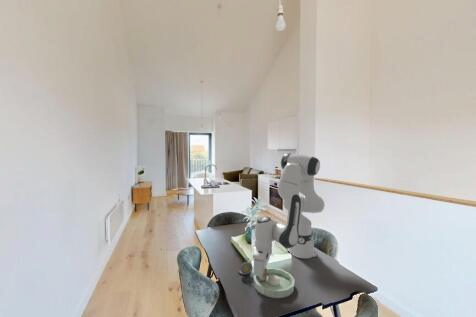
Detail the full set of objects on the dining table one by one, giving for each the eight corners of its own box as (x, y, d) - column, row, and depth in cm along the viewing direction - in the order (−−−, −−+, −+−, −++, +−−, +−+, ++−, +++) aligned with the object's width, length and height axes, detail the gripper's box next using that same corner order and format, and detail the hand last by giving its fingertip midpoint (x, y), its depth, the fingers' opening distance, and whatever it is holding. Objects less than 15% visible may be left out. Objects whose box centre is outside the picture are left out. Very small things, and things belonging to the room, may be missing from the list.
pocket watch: (243, 267, 132) (243, 250, 131) (255, 273, 127) (255, 255, 126) (234, 273, 126) (234, 255, 125) (246, 279, 120) (246, 260, 120)
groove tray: (259, 271, 128) (259, 265, 128) (295, 278, 122) (296, 272, 122) (249, 292, 110) (249, 285, 109) (291, 302, 103) (292, 295, 103)
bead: (259, 275, 120) (259, 266, 120) (267, 277, 119) (267, 267, 119) (257, 279, 116) (257, 270, 116) (265, 281, 115) (266, 272, 115)
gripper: (261, 240, 128) (261, 264, 128) (251, 257, 108) (251, 285, 109) (273, 242, 126) (272, 266, 126) (264, 259, 106) (264, 288, 107)
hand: (262, 275), depth 118 cm, fingers closed on bead, 4 cm apart
